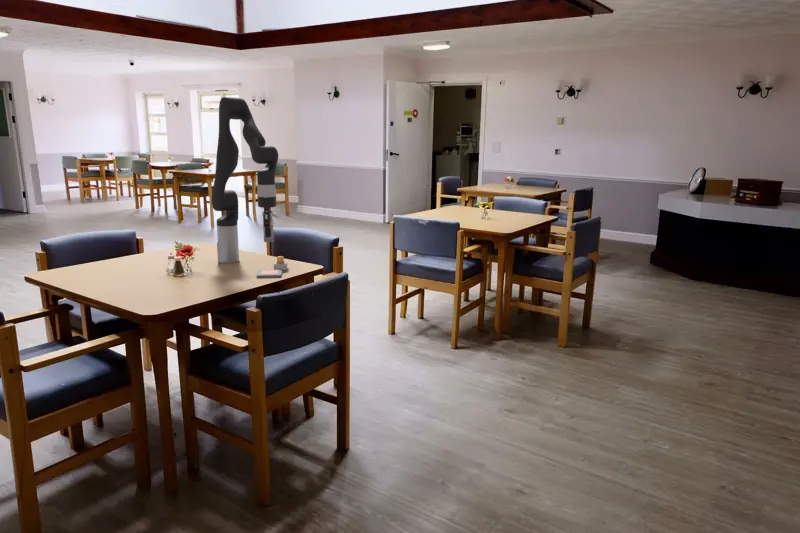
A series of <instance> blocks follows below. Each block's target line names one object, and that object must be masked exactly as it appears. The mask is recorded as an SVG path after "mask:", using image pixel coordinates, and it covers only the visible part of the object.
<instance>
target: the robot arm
mask: <svg viewBox="0 0 800 533" xmlns="http://www.w3.org/2000/svg"><path fill="white" fill-rule="evenodd" d="M254 119H255V118H254V117H253V115H252V112H251V110H250V108H249V105H248V103H247V102H246V100H245V99H244V98H241V97H234V96H222V97H221V98H220V101H219V106H218V138H217V139H218V140H217V148H216V160H215V161H216V162H215V172H214V174H215V175H214V181H213V186H212V191H211V198H210V199H211V200H210V201H211V202H210V203H211V207H212V208H213V210H214V211H216V212H224V214H222V216H220V217H219V218H217V219H216V234H217V237H216V238H217V242H216V251H217V252H216V253H217V262H218V263H221V264H231V263H233V262H234V263H238V262H239V261H240V252H239V251H240V250H239V232H238V231H239V229H238V228H239V227H238V220H239V196H238V194H237V192H236V191H235V190H233V189H227V190H226V187H227V183H228V181H229V179H230V177H231V176H232V174H233V173H234V172H235V170H236V169H237V168H238V167H237V166H238V162H239V156H240V155H239V153H240V151H239V150H240V149H239V147H238V143H237V142H236V140H235V138H234V136H233V134H232V130H231V127H230V125H231V122H230V121H231V120H236V121H238V120H241V121H242V123H243V127H242V136H243V139H244V140H245V142H246V144H247V145H248V147H249V151H250V155H251V159H252V160H253V162H254V163H255V164H258V165H260V164H261V165H262V164H264V165H265V164H266V166H265V168H263V169H259V170H257V173H256V177H257V178H256V179H257V188H256V193H257V195H256V196H257V206H258V207H259V208H263V210H262V214H261V215H262V223H263V222H264V228H265V237H271V229H270V228H271V222H272V220H273V210H272V209H271V208H275V207H277V188H276V181H275V180H276V177H275V174H276V170H277V165H278V162H279V151H278V149H277V148H276V147H275V146H273V145H270V146H269V145H266V144H267V142H266V139H265V137H264V135H263V134H262V133H261V131H260V130H259V128H258V127H257V124H256V122H255V120H254ZM266 223H269V224H268V225H266ZM237 261H238V262H237Z"/></svg>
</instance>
